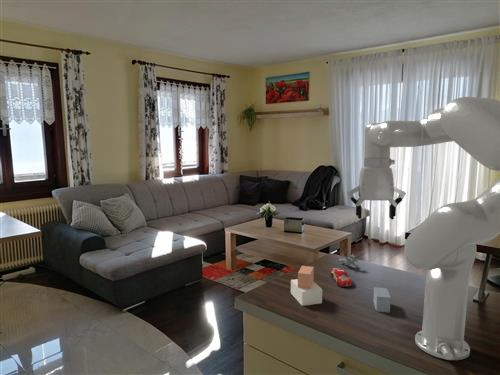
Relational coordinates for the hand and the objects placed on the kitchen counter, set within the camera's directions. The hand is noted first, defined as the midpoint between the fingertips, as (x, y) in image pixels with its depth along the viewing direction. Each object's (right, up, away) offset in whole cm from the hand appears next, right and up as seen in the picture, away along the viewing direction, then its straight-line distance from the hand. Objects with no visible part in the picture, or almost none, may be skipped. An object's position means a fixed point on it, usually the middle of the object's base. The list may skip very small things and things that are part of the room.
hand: (375, 218), depth 114 cm
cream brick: (-21, -28, +8) cm, 36 cm away
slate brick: (+3, -29, +2) cm, 29 cm away
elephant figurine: (+1, -24, +37) cm, 44 cm away
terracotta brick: (-21, -23, +8) cm, 32 cm away
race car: (-5, -26, +23) cm, 35 cm away
